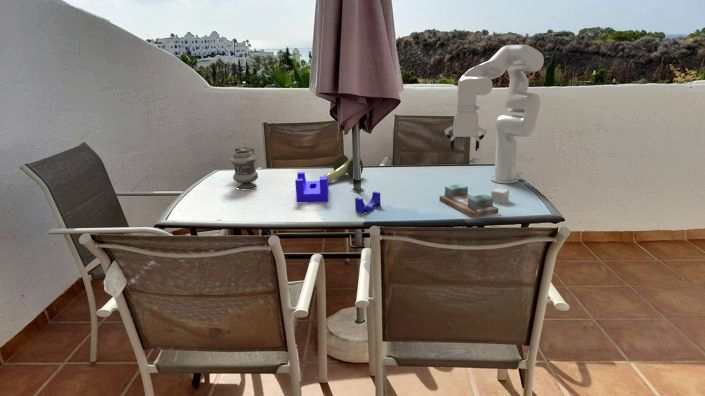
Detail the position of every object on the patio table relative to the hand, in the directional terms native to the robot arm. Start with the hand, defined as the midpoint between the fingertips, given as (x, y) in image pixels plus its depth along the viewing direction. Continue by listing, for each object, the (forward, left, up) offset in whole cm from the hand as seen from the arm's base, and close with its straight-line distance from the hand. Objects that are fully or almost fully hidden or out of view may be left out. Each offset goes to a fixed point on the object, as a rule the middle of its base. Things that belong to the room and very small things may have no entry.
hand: (464, 149), depth 197 cm
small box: (-11, +11, -21) cm, 27 cm away
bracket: (+58, -34, -22) cm, 70 cm away
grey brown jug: (+81, -79, -21) cm, 115 cm away
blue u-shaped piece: (+42, -4, -22) cm, 48 cm away
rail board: (+5, +11, -21) cm, 24 cm away
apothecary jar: (+84, -62, -21) cm, 107 cm away
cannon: (+38, -54, -22) cm, 69 cm away
